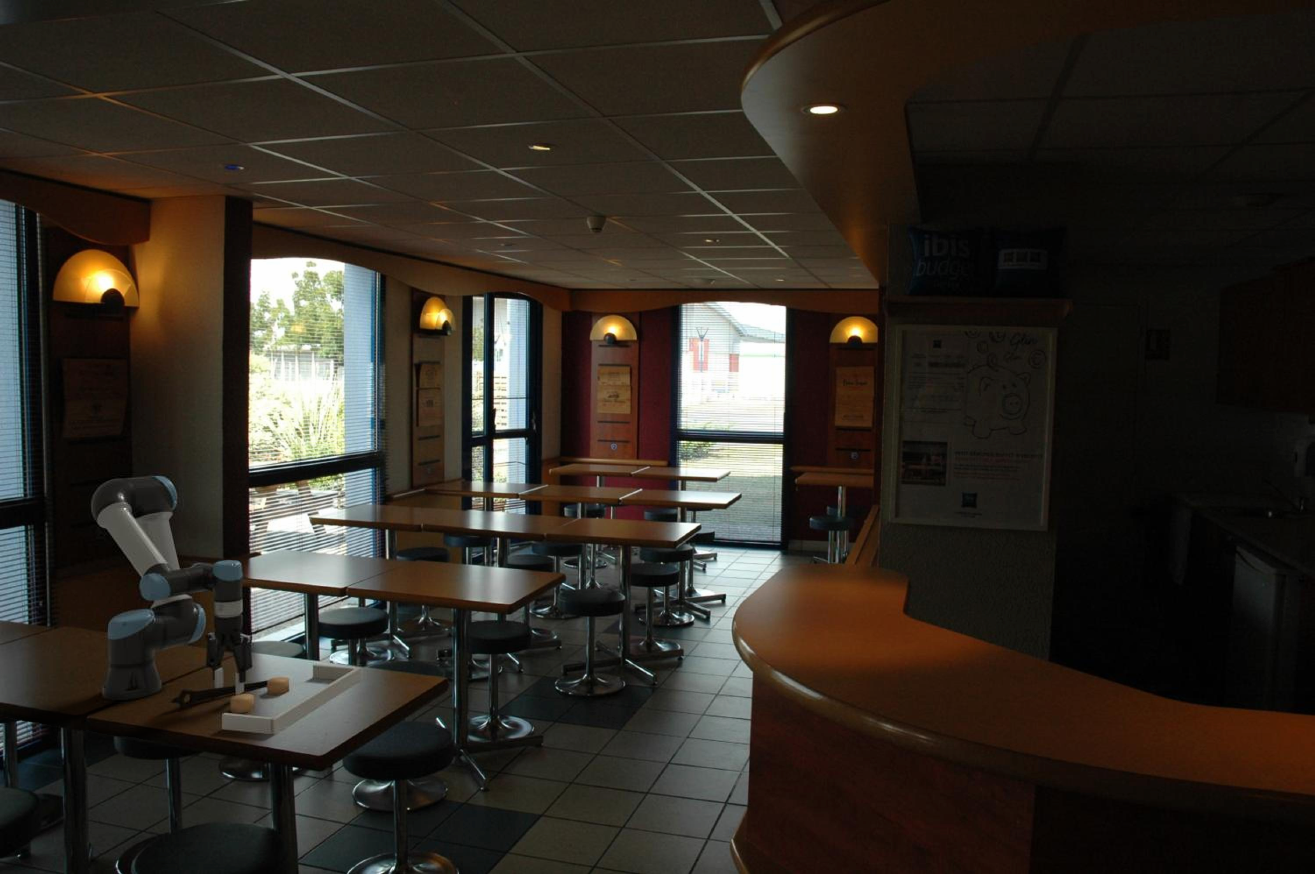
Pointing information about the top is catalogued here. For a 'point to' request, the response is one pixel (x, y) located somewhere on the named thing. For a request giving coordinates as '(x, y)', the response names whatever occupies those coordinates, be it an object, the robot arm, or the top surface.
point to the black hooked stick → (212, 693)
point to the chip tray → (274, 725)
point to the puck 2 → (278, 686)
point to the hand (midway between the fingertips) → (229, 691)
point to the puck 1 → (242, 703)
